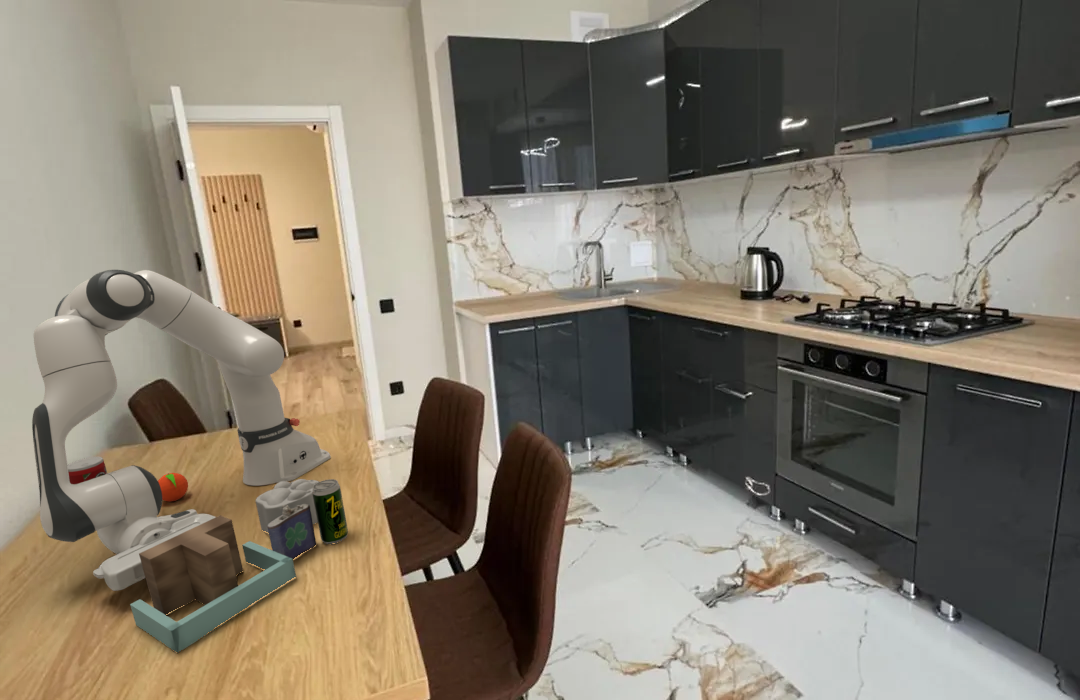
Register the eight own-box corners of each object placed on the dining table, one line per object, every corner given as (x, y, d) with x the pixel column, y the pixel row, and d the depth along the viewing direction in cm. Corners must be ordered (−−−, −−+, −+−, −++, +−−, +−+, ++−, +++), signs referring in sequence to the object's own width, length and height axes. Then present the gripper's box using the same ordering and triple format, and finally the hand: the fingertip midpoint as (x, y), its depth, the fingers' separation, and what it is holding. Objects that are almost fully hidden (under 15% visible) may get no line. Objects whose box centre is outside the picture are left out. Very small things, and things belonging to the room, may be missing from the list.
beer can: (315, 544, 118) (305, 490, 115) (332, 530, 123) (322, 478, 120) (338, 546, 116) (328, 491, 113) (354, 532, 121) (344, 479, 118)
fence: (253, 559, 114) (249, 541, 113) (296, 578, 107) (292, 558, 106) (136, 625, 97) (130, 604, 96) (177, 653, 90) (171, 631, 89)
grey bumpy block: (257, 527, 127) (249, 491, 125) (313, 503, 136) (307, 469, 134) (277, 542, 120) (268, 504, 118) (335, 515, 129) (328, 480, 127)
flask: (281, 570, 110) (270, 518, 107) (271, 566, 111) (260, 516, 109) (320, 544, 118) (310, 496, 115) (310, 541, 119) (300, 494, 117)
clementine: (196, 499, 144) (189, 472, 142) (164, 510, 139) (157, 483, 137) (186, 490, 149) (179, 465, 148) (155, 501, 144) (148, 475, 143)
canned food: (94, 510, 142) (82, 469, 140) (68, 510, 144) (56, 469, 142) (121, 495, 150) (111, 456, 147) (96, 495, 151) (85, 456, 149)
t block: (232, 566, 112) (220, 515, 110) (267, 583, 106) (255, 529, 103) (154, 609, 101) (138, 553, 99) (188, 631, 94) (173, 572, 92)
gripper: (84, 556, 104) (118, 577, 96) (200, 504, 120) (237, 519, 113) (93, 587, 105) (127, 610, 98) (207, 532, 122) (243, 548, 114)
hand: (187, 560), depth 105 cm, fingers closed, pressing on t block
